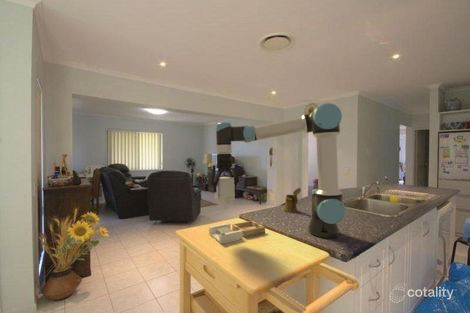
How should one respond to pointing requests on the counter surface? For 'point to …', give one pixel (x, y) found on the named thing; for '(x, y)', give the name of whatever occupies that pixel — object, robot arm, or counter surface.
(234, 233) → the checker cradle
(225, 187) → the supplement box
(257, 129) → the robot arm
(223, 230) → the cradle platform
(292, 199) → the wooden mug
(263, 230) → the wooden trough
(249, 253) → the counter surface
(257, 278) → the counter surface
